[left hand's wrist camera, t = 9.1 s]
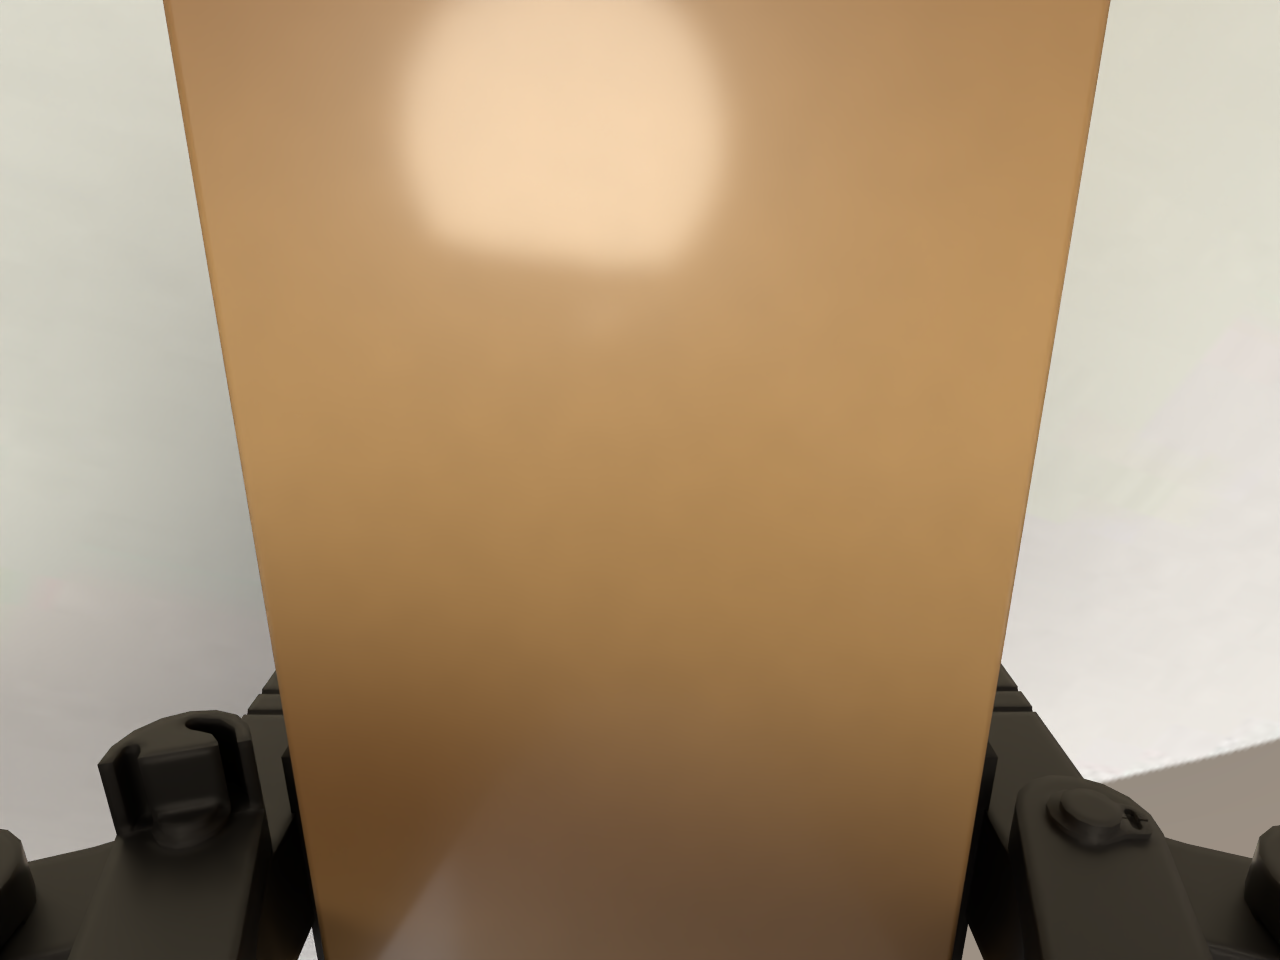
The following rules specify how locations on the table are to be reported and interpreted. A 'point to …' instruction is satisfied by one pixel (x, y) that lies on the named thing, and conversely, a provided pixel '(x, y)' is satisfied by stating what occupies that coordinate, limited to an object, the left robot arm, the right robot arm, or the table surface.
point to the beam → (637, 447)
